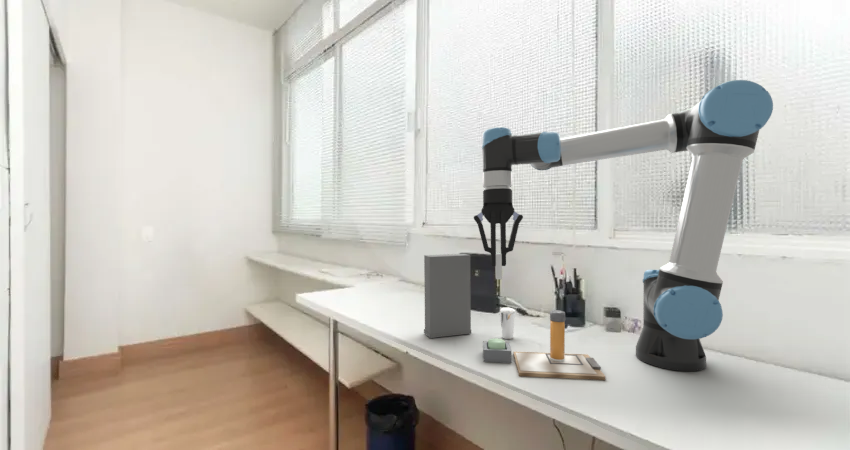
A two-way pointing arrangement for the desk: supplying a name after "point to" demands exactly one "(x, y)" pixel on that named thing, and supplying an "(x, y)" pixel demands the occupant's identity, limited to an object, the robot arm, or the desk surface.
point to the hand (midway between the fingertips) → (498, 278)
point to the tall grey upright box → (447, 295)
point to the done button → (496, 344)
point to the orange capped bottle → (557, 336)
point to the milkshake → (507, 322)
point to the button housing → (496, 353)
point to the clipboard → (557, 366)
